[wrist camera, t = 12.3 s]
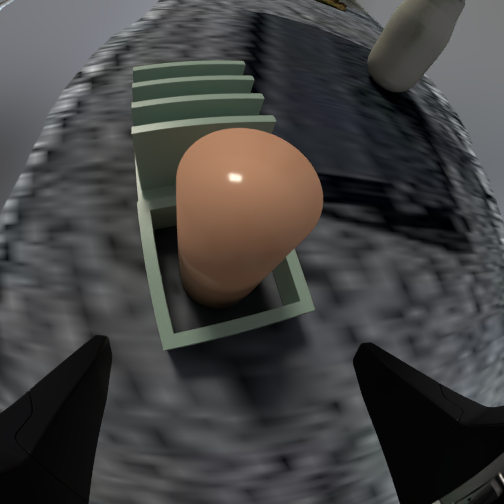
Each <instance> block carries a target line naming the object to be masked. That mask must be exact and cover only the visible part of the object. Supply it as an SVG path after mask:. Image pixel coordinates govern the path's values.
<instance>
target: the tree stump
mask: <svg viewBox="0 0 504 504" xmlns="http://www.w3.org/2000/svg"><path fill="white" fill-rule="evenodd" d="M317 1H319V2H321V3H325V4H328V5H330V6H332V7H335V8H337V9H339V10H342V11H346V9H345V8H346V5H345V4H344V3H340V2H339V0H317Z"/></svg>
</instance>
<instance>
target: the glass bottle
mask: <svg viewBox="0 0 504 504" xmlns="http://www.w3.org/2000/svg"><path fill="white" fill-rule="evenodd" d="M464 5H465V0H405V1H404V2H403V3H402V4H401V5H400V6H399V7H398V8H397V9H396V11H395V12H394V13H393V15H392V16H391V18H390V20H389V21H388V23H387V25H386V26H385V28H384V30H383V32H382V34H381V35H380V37H379V38H378V40H377V42H376V43H375V45H374V47H373V48H372V50H371V52H370V55H369V58H368V70H369V73H370V75H371V76H372V78H373V80H374V81H375V82H376V83H377V84H378V85H380V86H381V87H382V88H384V89H386V90H388V91H391V92H404V91H407V90H409V89H410V88H412V87H413V86H414V85H415V84H416V83H417V82H418V81H419V80H420V79H421V77H422V76H423V75H424V73H425V72H426V71H427V70H428V68H429V67H430V66H431V65H432V64H433V62H434V61H435V60H436V59H437V58H438V56H439V55H440V54H441V52H442V51H443V50H444V48H445V47H446V45H447V44H448V42H449V40H450V37H451V35H452V32H453V29H454V27H455V23H456V21H457V19H458V17H459V16H460V13H461V12H462V10H463V8H464Z"/></svg>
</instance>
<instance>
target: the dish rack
mask: <svg viewBox="0 0 504 504" xmlns="http://www.w3.org/2000/svg"><path fill="white" fill-rule="evenodd" d="M244 68H245V63H244V61H190V62H175V63H164V64H154V65H146V66H139V67H133V80H134V83H132V92H133V103H132V116H133V125H134V127H132V139H133V146H134V152H135V164H136V178H137V190H138V201H139V202H137V207H138V216H139V224H140V232H141V239H142V246H143V253H144V259H145V265H146V271H147V277H148V282H149V288H150V293H151V298H152V303H153V307H154V312H155V317H156V321H157V325H158V330H159V334H160V338H161V342H162V346H163V350H166V351H168V350H173V349H178V348H182V347H187V346H191V345H195V344H200V343H204V342H208V341H212V340H216V339H220V338H224V337H228V336H232V335H235V334H239V333H243V332H247V331H250V330H254V329H257V328H261V327H264V326H268V325H271V324H274V323H278V322H281V321H284V320H288V319H291V318H294V317H297V316H300V315H303V314H305V313H308V312H310V311H313V310H315V308H314V305H313V302H312V299H311V296H310V293H309V290H308V287H307V284H306V281H305V278H304V275H303V272H302V269H301V266H300V263H299V260H298V257H297V255H296V252H295V249H293V250H292V251H291V252H290V253H289V254H288V255H287V256H286V257H285V259H284V260H283V261H282V262H281V263H280V264H279V265H278V266H277V267H276V268H275V269H273V270H272V271H273V274H274V278H275V281H276V284H277V287H278V290H279V293H280V297H281V300H282V303H283V307H279V308H276V309H272V310H268V311H265V312H261V313H257V314H254V315H250V316H246V317H242V318H238V319H235V320H231V321H227V322H223V323H219V324H214V325H210V326H206V327H202V328H198V329H193V330H189V331H184V332H180V333H175V332H174V328H173V324H172V320H171V315H170V311H169V307H168V302H167V298H166V293H165V289H164V284H163V279H162V274H161V269H160V263H159V258H158V252H157V246H156V240H155V234H154V230H155V229H161V228H166V227H172V226H177V204H176V175H177V170H178V166H179V163H180V161H181V159H182V157H183V155H184V154H185V152H186V151H187V150H188V149H189V147H190V146H192V145H193V144H194V143H195V142H196V141H198V140H199V139H200V138H202V137H204V136H206V135H208V134H210V133H213V132H215V131H219V130H223V129H230V128H249V129H255V130H260V131H264V132H267V133H270V134H271V133H272V131H273V128H274V126H275V124H276V120H275V118H274V116H258V115H259V113H260V110H261V107H262V104H263V101H264V97H263V95H262V94H250V92H251V89H252V85H253V82H254V79H253V77H252V76H242V75H243V71H244Z"/></svg>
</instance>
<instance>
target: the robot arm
mask: <svg viewBox="0 0 504 504" xmlns="http://www.w3.org/2000/svg"><path fill="white" fill-rule="evenodd" d="M111 364H112V352H111V347H110V342H109V338H108V337H107V336H103V335H95V336H94V337H93V338H91V339H90V340H89V341H88V342H86V343H85V344H84V345H83V346H81V347H80V348H79V349H78V350H77V351H75V352H74V353H73V354H72V355H70V356H69V357H68V358H67V359H66V360H64V361H63V362H62V363H61V364H60V365H58V366H57V367H56V368H55V369H54V370H52V371H51V372H50V373H49V374H48V375H46V376H45V377H44V378H43V379H42V380H41V381H39V382H38V383H37V384H36V385H35V386H34V387H32V388H31V389H30V391H28V392H26V393H25V394H24V395H23V396H22V397H21V398H19V399H18V400H17V401H16V402H15V403H13V404H12V405H11V406H9V407H8V408H7V409H5V410H4V411H3V412H1V413H0V504H89V503H88V502H89V495H90V486H91V479H92V471H93V465H94V459H95V453H96V447H97V442H98V437H99V432H100V427H101V422H102V418H103V413H104V409H105V405H106V400H107V393H108V385H109V378H110V371H111ZM353 365H354V369H355V372H356V376H357V379H358V383H359V387H360V390H361V394H362V397H363V399H364V402H365V405H366V407H367V410H368V412H369V415H370V418H371V420H372V423H373V426H374V428H375V431H376V434H377V436H378V439H379V442H380V445H381V448H382V450H383V453H384V456H385V459H386V462H387V465H388V468H389V471H390V474H391V477H392V478H393V479H392V480H393V483H394V486H395V489H396V492H397V496H398V499H399V502H400V504H432V503H434V502H436V501H438V500H439V501H440V503H441V504H504V406H499V407H486V406H483V405H481V404H479V403H477V402H475V401H472V400H470V399H468V398H466V397H464V396H462V395H460V394H458V393H456V392H454V391H452V390H451V389H449V388H447V387H445V386H444V385H442V384H440V383H438V382H437V381H435V380H433V379H432V378H430V377H428V376H426V375H425V374H423V373H421V372H420V371H418V370H416V369H415V368H413V367H411V366H410V365H408V364H406V363H405V362H403V361H401V360H400V359H398V358H396V357H395V356H393V355H391V354H390V353H388V352H386V351H385V350H383V349H381V348H380V347H378V346H376V345H375V344H373V343H371V342H368V343H362V344H361V345H360V346H359V348H358V350H357V352H356V354H355V356H354V358H353Z"/></svg>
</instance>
